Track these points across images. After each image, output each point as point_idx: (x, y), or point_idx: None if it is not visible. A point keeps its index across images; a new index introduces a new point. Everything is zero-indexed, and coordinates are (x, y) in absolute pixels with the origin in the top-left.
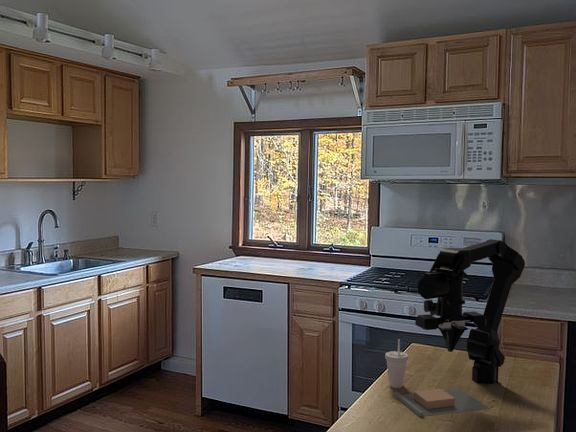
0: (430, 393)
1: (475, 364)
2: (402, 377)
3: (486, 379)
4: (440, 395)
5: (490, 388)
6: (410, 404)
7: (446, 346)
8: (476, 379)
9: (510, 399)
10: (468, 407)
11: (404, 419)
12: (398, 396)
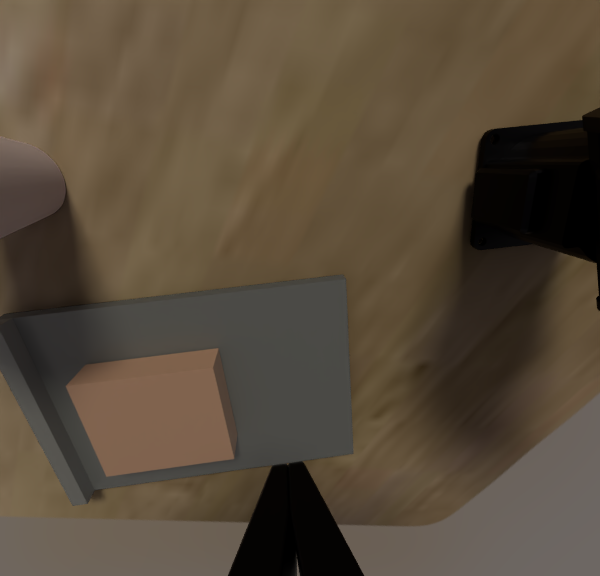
0: (144, 411)
1: (558, 190)
2: (5, 235)
3: (522, 239)
4: (182, 433)
5: (498, 256)
6: (46, 449)
7: (256, 508)
8: (481, 216)
9: (486, 367)
10: (282, 444)
11: (32, 475)
12: (3, 364)
